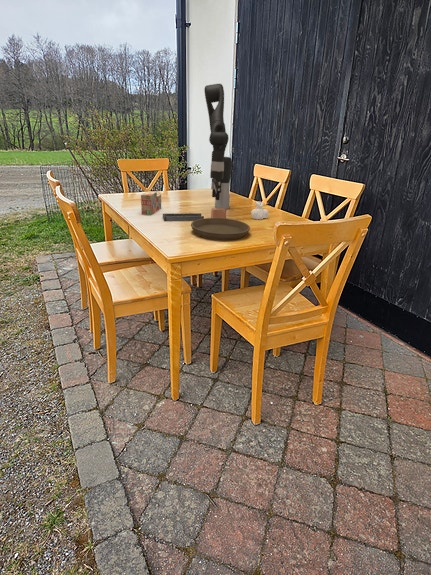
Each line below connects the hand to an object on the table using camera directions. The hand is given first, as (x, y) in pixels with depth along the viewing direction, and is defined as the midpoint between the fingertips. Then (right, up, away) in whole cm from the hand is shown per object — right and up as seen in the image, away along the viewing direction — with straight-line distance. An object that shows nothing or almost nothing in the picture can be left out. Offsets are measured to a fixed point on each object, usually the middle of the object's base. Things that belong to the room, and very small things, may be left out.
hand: (215, 198), depth 215 cm
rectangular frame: (-19, -12, 0) cm, 22 cm away
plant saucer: (+2, -24, -22) cm, 33 cm away
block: (+2, -11, +5) cm, 13 cm away
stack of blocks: (-40, -5, +15) cm, 43 cm away
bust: (+27, -10, +12) cm, 31 cm away
